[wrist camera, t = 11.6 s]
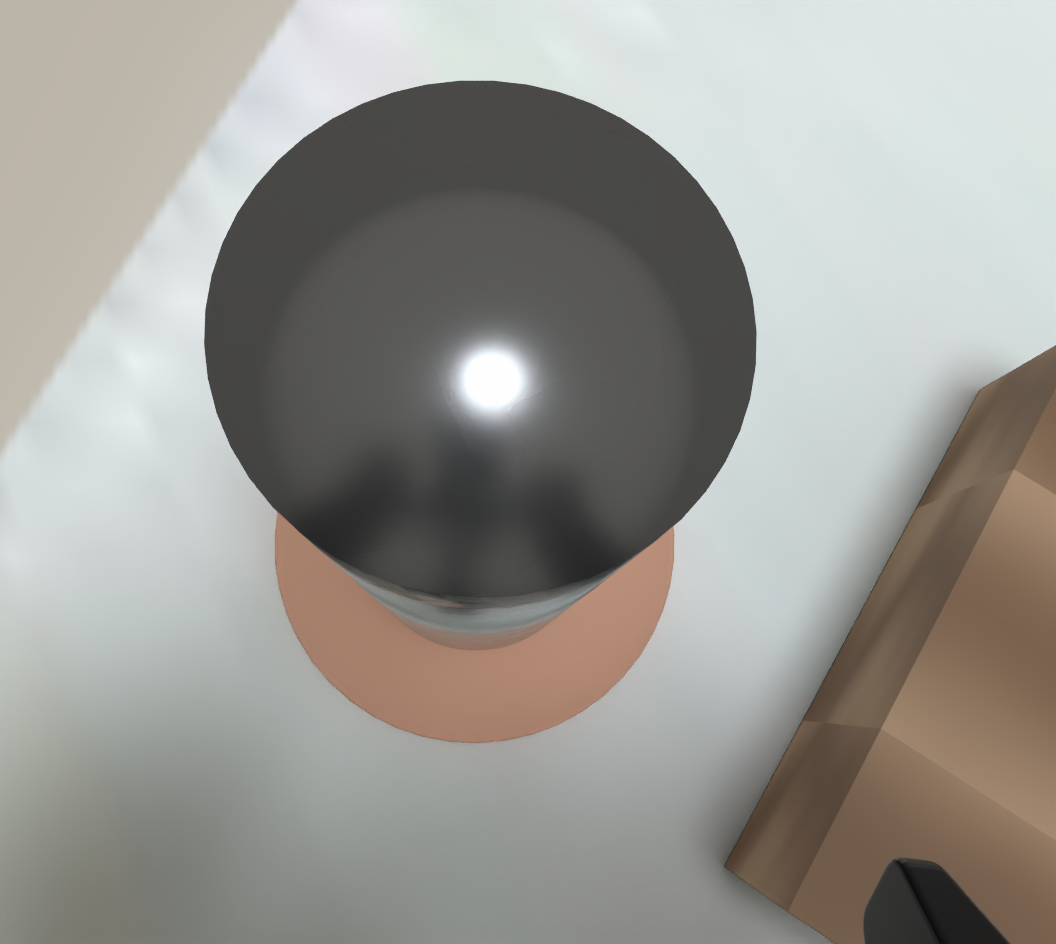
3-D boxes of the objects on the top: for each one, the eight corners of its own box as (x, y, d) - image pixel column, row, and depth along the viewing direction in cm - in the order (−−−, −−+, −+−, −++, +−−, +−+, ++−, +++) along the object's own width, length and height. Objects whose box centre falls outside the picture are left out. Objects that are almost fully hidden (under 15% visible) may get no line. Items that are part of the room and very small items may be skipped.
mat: (654, 764, 20) (657, 766, 19) (244, 716, 20) (239, 716, 19) (684, 379, 22) (688, 373, 22) (315, 330, 22) (312, 324, 21)
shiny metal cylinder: (493, 698, 20) (529, 722, 7) (318, 553, 20) (83, 354, 8) (631, 522, 21) (860, 291, 8) (462, 389, 21) (450, -11, 9)
